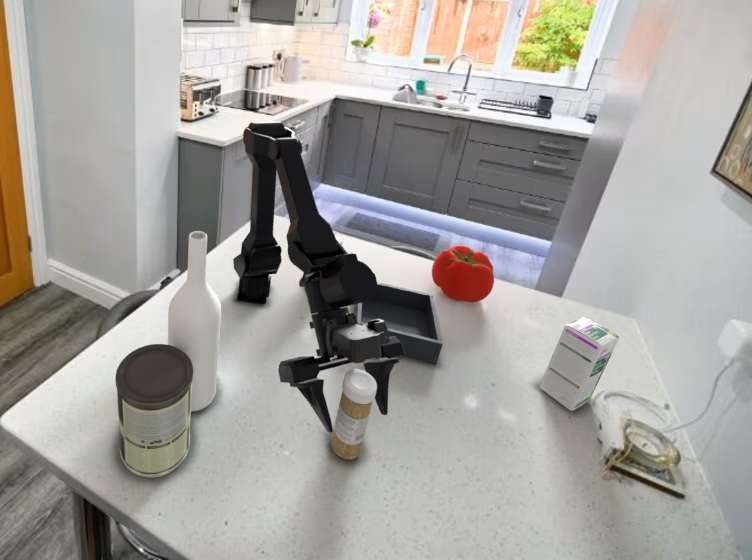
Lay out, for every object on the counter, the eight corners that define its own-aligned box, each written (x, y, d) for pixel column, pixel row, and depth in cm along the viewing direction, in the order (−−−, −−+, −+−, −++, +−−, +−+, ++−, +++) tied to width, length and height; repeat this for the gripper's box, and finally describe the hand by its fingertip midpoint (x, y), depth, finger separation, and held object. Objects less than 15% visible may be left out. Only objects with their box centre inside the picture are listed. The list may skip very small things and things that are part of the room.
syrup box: (572, 412, 74) (604, 347, 69) (537, 386, 79) (565, 323, 74) (589, 401, 77) (622, 337, 71) (554, 376, 82) (583, 314, 76)
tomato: (439, 269, 113) (450, 234, 109) (494, 294, 105) (508, 256, 101) (417, 290, 104) (428, 253, 100) (476, 319, 95) (490, 279, 91)
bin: (352, 343, 86) (356, 323, 84) (355, 296, 100) (359, 278, 98) (436, 364, 82) (443, 344, 80) (427, 312, 96) (433, 294, 94)
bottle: (205, 418, 68) (215, 256, 57) (158, 403, 70) (159, 242, 59) (222, 379, 76) (234, 228, 64) (179, 366, 78) (183, 217, 66)
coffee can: (105, 440, 64) (101, 368, 59) (163, 401, 71) (164, 332, 66) (144, 495, 57) (143, 419, 52) (204, 446, 64) (209, 374, 59)
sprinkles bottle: (349, 429, 68) (364, 364, 63) (366, 456, 65) (384, 389, 59) (324, 437, 67) (337, 371, 62) (340, 465, 63) (356, 397, 58)
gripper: (296, 316, 57) (328, 451, 52) (410, 293, 64) (448, 411, 58) (267, 324, 67) (290, 438, 61) (368, 303, 73) (397, 405, 68)
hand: (358, 423), depth 62 cm, fingers open, 9 cm apart
